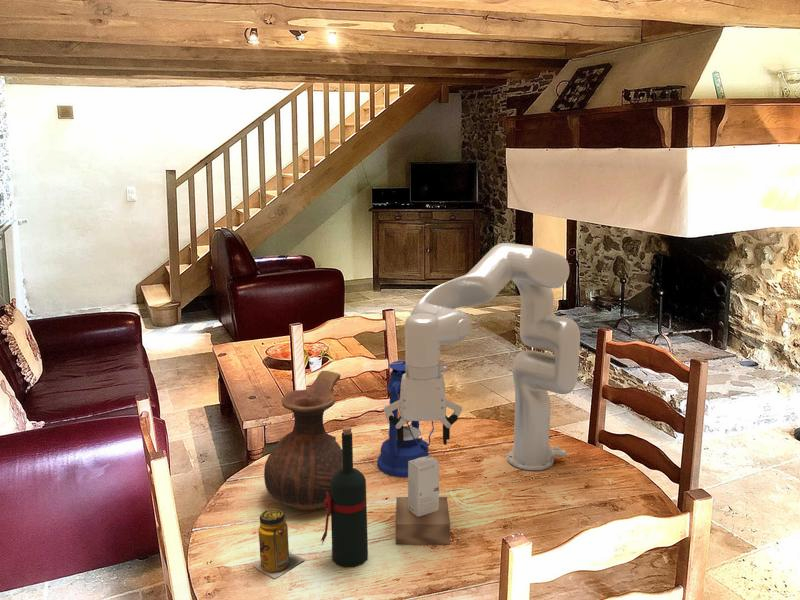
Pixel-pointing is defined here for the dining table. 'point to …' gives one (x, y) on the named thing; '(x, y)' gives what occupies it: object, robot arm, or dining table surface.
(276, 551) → the condiment
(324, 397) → the jug
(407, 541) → the walnut block
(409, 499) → the skincare box
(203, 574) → the dining table surface
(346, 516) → the wine bottle
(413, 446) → the lantern
